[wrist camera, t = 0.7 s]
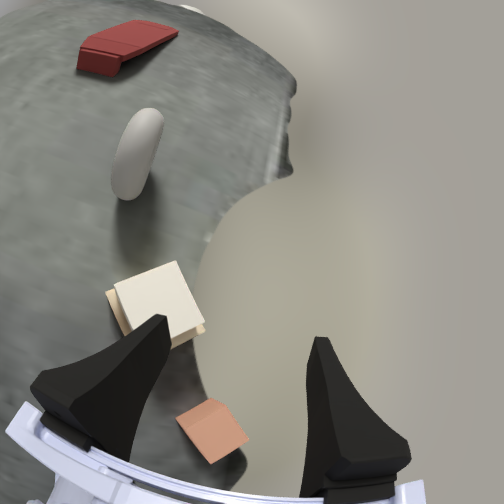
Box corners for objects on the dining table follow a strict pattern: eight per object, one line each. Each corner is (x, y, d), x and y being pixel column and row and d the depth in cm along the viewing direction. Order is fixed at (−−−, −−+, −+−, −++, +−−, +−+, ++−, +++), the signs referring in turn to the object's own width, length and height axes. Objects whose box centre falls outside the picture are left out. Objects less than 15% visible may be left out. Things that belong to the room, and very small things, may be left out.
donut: (135, 220, 27) (144, 164, 19) (106, 213, 26) (105, 154, 18) (158, 153, 32) (176, 94, 23) (133, 147, 30) (145, 86, 22)
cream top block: (195, 325, 24) (205, 321, 21) (141, 350, 21) (143, 351, 18) (169, 271, 25) (175, 260, 22) (115, 292, 22) (113, 284, 19)
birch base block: (197, 333, 27) (205, 331, 24) (138, 362, 23) (139, 364, 20) (167, 273, 28) (172, 264, 25) (107, 298, 24) (105, 292, 21)
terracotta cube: (231, 429, 24) (249, 439, 20) (197, 449, 22) (210, 464, 18) (210, 397, 25) (225, 405, 21) (175, 417, 22) (184, 429, 19)
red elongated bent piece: (131, 35, 44) (68, 67, 29) (137, 18, 40) (72, 43, 26) (173, 46, 47) (122, 80, 33) (181, 30, 44) (129, 54, 29)
